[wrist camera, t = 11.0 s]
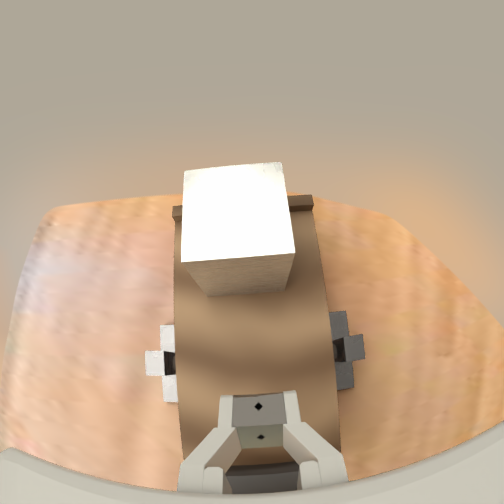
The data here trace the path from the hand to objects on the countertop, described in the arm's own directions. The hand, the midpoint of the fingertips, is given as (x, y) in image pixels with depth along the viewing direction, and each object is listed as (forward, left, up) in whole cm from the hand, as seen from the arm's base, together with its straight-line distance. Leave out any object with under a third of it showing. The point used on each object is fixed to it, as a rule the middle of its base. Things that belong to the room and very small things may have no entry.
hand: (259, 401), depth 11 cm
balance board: (0, -2, -12) cm, 12 cm away
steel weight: (+1, -10, -10) cm, 14 cm away
